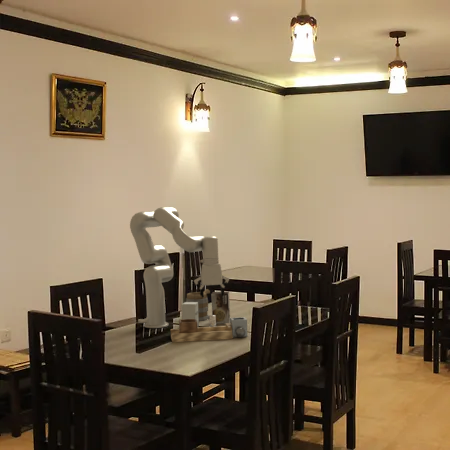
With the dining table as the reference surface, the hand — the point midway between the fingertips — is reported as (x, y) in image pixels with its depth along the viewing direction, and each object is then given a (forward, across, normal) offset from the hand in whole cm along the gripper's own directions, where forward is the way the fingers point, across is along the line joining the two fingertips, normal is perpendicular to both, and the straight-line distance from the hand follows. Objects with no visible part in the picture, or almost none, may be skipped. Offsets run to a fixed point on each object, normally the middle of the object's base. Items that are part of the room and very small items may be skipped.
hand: (212, 296), depth 341 cm
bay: (+17, -7, -13) cm, 23 cm away
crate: (+16, -13, -13) cm, 24 cm away
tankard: (+17, -2, +41) cm, 45 cm away
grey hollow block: (+18, +11, -14) cm, 25 cm away
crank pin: (+17, 0, 0) cm, 17 cm away
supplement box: (+17, -10, +14) cm, 25 cm away
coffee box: (+18, +7, +23) cm, 30 cm away
